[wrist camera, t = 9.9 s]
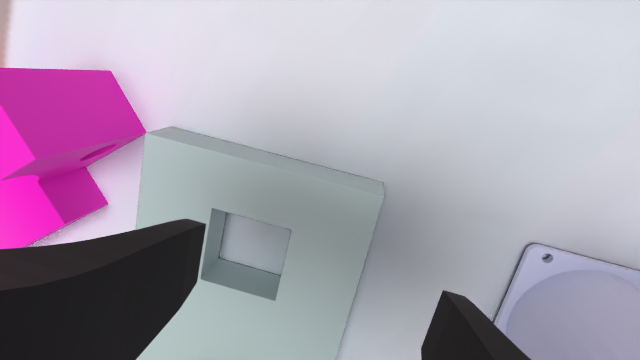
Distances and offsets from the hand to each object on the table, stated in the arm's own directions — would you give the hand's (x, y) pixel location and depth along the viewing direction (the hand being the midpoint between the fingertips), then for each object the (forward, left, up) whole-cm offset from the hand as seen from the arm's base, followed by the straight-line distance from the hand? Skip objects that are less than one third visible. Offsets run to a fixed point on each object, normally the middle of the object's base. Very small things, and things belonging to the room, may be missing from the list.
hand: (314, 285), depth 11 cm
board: (+4, +9, -10) cm, 14 cm away
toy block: (+18, +4, -10) cm, 21 cm away
